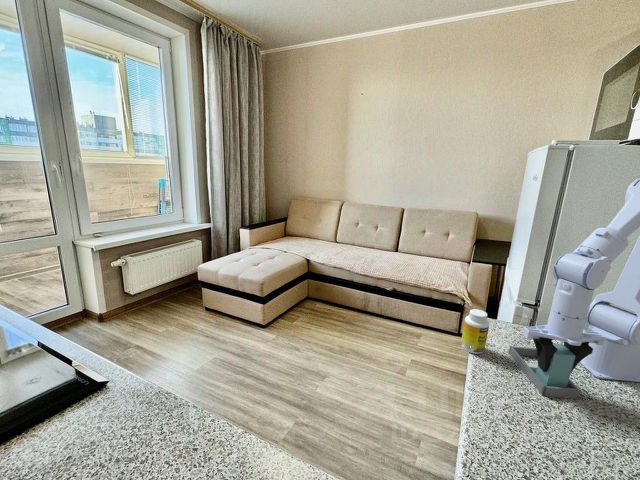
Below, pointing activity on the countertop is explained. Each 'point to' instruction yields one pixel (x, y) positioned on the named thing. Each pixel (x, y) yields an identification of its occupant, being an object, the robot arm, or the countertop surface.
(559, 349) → the plug
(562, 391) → the caddy
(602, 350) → the robot arm
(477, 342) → the supplement bottle
